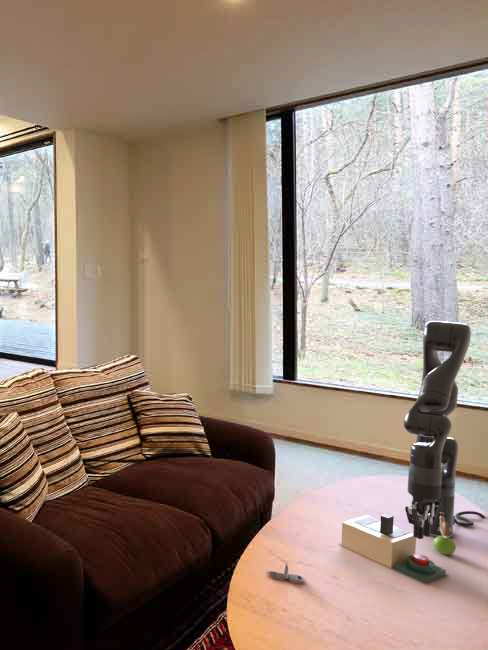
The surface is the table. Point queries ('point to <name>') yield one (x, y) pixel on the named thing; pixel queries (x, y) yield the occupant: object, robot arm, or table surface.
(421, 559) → the button
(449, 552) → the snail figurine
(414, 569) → the control block
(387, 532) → the slider
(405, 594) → the table surface
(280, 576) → the grey elongated piece
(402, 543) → the long cream box
